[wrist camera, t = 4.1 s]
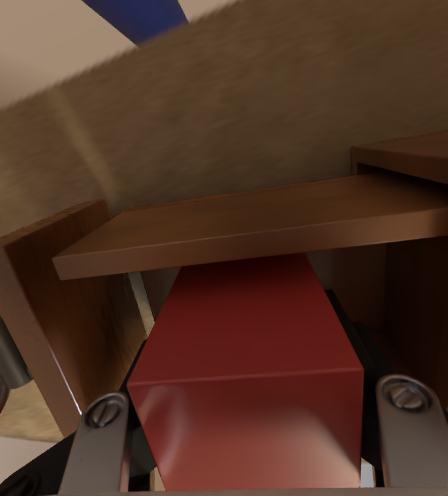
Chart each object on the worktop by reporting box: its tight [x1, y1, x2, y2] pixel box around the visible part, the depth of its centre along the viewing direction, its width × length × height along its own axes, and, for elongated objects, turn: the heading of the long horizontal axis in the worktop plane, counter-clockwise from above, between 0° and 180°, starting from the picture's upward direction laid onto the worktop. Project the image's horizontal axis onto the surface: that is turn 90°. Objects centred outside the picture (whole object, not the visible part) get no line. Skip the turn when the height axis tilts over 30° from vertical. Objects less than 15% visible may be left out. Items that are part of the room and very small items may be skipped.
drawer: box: [0, 170, 448, 438], centre depth 13 cm, size 20×10×7 cm, turn 99°
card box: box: [127, 252, 364, 491], centre depth 11 cm, size 5×5×8 cm
